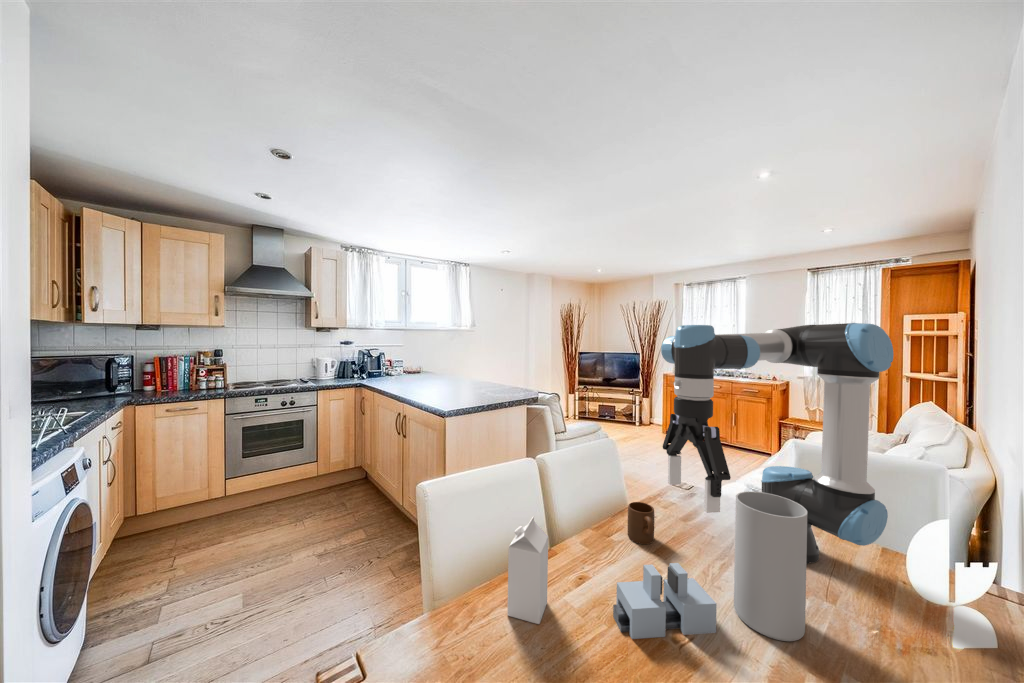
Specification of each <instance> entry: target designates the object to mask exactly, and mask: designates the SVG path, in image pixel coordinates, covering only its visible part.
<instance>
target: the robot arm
mask: <svg viewBox="0 0 1024 683" xmlns="http://www.w3.org/2000/svg"><path fill="white" fill-rule="evenodd" d="M660 351H661V352H660V353H661V356H662V359H664V360H665V362H667V363H668V364H674V372H673V373H674V381H673V386H674V387H673V388H674V389H673V390H674V391H673V392H674V395H676V396H675V397H674V398H673V413H670V418H669V425H668V427H667V430H666V433H665V438H664V439H663V440H664V441H663V443H662V449H663V450H664V451H666V454H667V455H668V456H667V457H668V461H667V462H668V464H667V465H668V466H667V467H668V468H667V474H668V475H667V483H668V485H671V486H672V485H673V486H674V485H681V484H682V456H681V454H682V452H681V451H682V450H683V448H684V447H685V445H686V444H687V442H690V443H691V444H692V446H694V447H695V448H696V450H697V452H698V456H700V459H701V460H700V461H701V462H702V465H703V467H704V470H705V473H706V475H707V476H705V477H704V512H706V513H709V514H710V513H712V514H713V513H720V512H721V496H722V482H723V481H730V480H731V478H732V477H731V473H730V469H729V466H728V463H727V459H726V456H725V452H724V449H723V445H722V441H721V437H720V436H721V434H720V433H721V432H720V428H719V427H718V426H709V423H708V420H709V419H711V418H713V417H714V400H712V399H711V398H713V397H714V391H715V387H714V386H715V381H714V380H715V379H714V378H715V375H714V372H715V370H742V369H750V368H752V367H753V366H755V365H756V364H757V363H758V361H767V362H768V363H770V364H771V363H772V364H780V363H781V364H787V365H788V364H790V365H797V366H802V367H803V366H804V367H812V368H817V371H816V372H817V374H816V375H817V376H819V378H821V380H823V382H824V384H823V387H824V388H823V410H822V411H823V415H822V442H821V443H822V444H821V464H820V465H821V466H820V467H821V468H820V469H821V471H820V472H819V473H818V474H816V475H813V473H812V471H810V470H808V469H804V468H801V467H794V466H784V465H775V466H774V465H772V466H767V467H765V468H764V469H763V470H762V476H761V480H760V481H761V492H763V493H769V494H773V495H777V496H781V497H784V498H787V499H790V500H792V501H794V502H796V503H798V504H800V505H802V506H803V507H804V508H805V509H806V510H807V559H806V564H814V563H816V562H818V561H819V559H820V549H819V546H818V544H817V542H816V538H815V533H814V532H813V529H812V526H813V527H815V528H818V529H820V531H821V530H822V531H824V532H826V533H829V534H830V535H832V536H835V537H837V538H839V540H842V541H847V542H849V543H852V544H854V545H857V546H861V547H862V546H863V547H864V546H865V547H866V546H868V545H872V544H873V543H875V542H876V541H877V540H878V539H879V538H880V537H881V536H882V534H883V533H884V530H885V529H886V526H887V523H888V519H889V518H888V516H889V515H888V514H889V513H888V510H887V507H886V505H885V504H884V503H883V502H881V501H880V500H877V499H876V489H875V488H874V487H873V486H872V485H871V484H869V482H868V459H869V458H868V453H869V452H868V451H869V428H870V427H869V426H870V424H869V423H870V404H871V403H870V401H871V400H870V398H871V397H870V396H871V386H872V384H873V383H875V382H877V381H878V380H879V379H880V372H881V373H882V372H885V371H887V370H889V369H890V367H892V363H893V361H894V347H893V343H892V340H891V338H890V336H889V334H888V333H887V332H886V331H885V330H884V329H883V328H882V327H880V326H879V325H877V324H874V323H866V322H865V323H863V322H860V323H859V322H849V323H830V324H827V323H826V324H824V323H823V324H805V325H796V326H791V327H783V328H774V329H769V330H766V331H765V332H756V333H755V332H754V333H751V332H750V333H723V334H720V333H719V334H716V333H715V327H714V326H713V325H711V324H710V325H708V324H684V325H683V324H682V325H679V326H677V327H676V329H675V334H674V335H670V336H668V337H666V338H665V339H664V340H663V341H662V343H661V348H660Z"/></svg>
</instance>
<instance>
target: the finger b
mask: <svg viewBox="0 0 1024 683" xmlns="http://www.w3.org/2000/svg"><path fill="white" fill-rule="evenodd" d="M688 574H689V573H688V572H687V571H686V570H685V569H684V568H683V567H682V566H681V564H680V563H679V562H669V565H668V566H667V579H666V578H665V579H663V600H662V602H668V601H671V603H672V604H673V605H674V607H675V608H676V609H677V611H678V612H679V613H680V615H681V628H680V632H681V633H682V635H684V636H687V635H689V636H690V635H703V634H715V633H716V634H717V604H718V603H717V602H716V601H715V600H714V599H713V598H712V597H711V596H710V595H709V593H708V592H707V591H706V590H705V589H704V588H703V587H702V586H701V585H700V584H699V582H698V581H697V580H696V579H695V578H694V577H689V576H688ZM688 577H689V578H688Z"/></svg>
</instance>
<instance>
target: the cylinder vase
mask: <svg viewBox="0 0 1024 683" xmlns="http://www.w3.org/2000/svg"><path fill="white" fill-rule="evenodd" d="M734 515H735V517H734V518H735V521H734V524H735V526H734V567H733V568H734V569H733V570H734V571H733V572H734V574H733V575H734V576H733V578H734V579H733V608H734V610H735V612H736V615H737V616H738V617H739V619H740V620H741V621H742V622H743V623H744V624H746V625H747V626H748V627H749V628H751V630H753V631H756V632H757V633H759V634H761V635H763V636H765V637H768V638H769V639H774V640H777V641H778V640H779V641H783V642H793V641H795V642H796V641H798V640H800V639H802V638H803V637H804V635H805V633H806V606H807V605H806V603H807V600H806V598H807V596H806V595H807V563H806V559H807V510H806V509H805V508H804V507H803V506H802V505H800V504H798V503H796V502H794V501H792V500H790V499H787V498H784V497H781V496H777V495H773V494H769V493H763V492H762V491H749V490H748V491H741V492H738V493H736V495H735V514H734Z"/></svg>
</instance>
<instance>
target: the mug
mask: <svg viewBox="0 0 1024 683" xmlns="http://www.w3.org/2000/svg"><path fill="white" fill-rule="evenodd" d="M627 536H628V538H629V540H631V541H633V542H634V543H637V544H640V545H649V544H652V543H653V542H654V539H655V508H654V507H653V506H652V505H650V504H648V503H646V502H640V501H633V502H629V504H628V506H627Z"/></svg>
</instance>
